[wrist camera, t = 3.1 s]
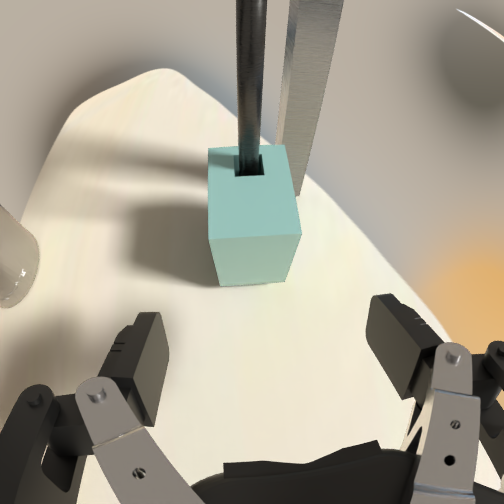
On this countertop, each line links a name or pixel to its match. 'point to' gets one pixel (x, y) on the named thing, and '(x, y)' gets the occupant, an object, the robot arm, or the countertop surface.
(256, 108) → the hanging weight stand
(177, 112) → the countertop surface
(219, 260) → the sleeve
